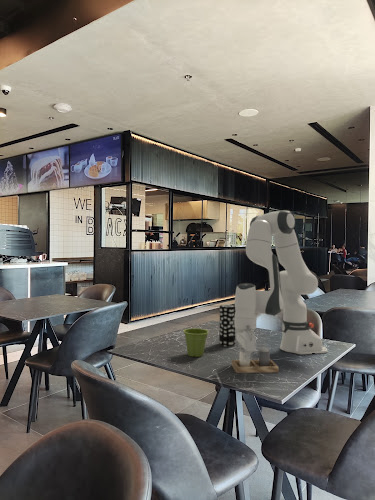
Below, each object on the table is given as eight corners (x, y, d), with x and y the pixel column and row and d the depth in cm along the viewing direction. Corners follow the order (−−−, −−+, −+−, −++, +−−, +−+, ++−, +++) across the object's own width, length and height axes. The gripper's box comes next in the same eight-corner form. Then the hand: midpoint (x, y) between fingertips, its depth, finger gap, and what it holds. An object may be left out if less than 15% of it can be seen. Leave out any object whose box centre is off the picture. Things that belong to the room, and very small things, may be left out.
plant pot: (200, 360, 168) (200, 335, 168) (178, 356, 174) (178, 331, 174) (213, 354, 178) (213, 330, 178) (191, 350, 184) (191, 327, 184)
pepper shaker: (267, 366, 157) (268, 347, 157) (270, 369, 153) (271, 350, 153) (257, 366, 157) (257, 347, 157) (260, 370, 153) (260, 350, 152)
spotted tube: (217, 345, 193) (217, 306, 193) (221, 341, 201) (222, 304, 200) (232, 347, 190) (233, 307, 190) (237, 343, 198) (237, 305, 197)
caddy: (271, 366, 160) (271, 359, 160) (278, 374, 150) (278, 367, 150) (231, 367, 159) (231, 359, 159) (236, 375, 149) (236, 367, 149)
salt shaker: (248, 366, 157) (249, 347, 157) (251, 370, 152) (251, 350, 152) (238, 366, 156) (238, 347, 156) (240, 370, 152) (240, 350, 152)
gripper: (259, 329, 144) (259, 365, 144) (247, 318, 164) (247, 350, 165) (243, 329, 144) (242, 365, 144) (233, 318, 164) (232, 350, 164)
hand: (245, 357), depth 154 cm, fingers open, 8 cm apart
